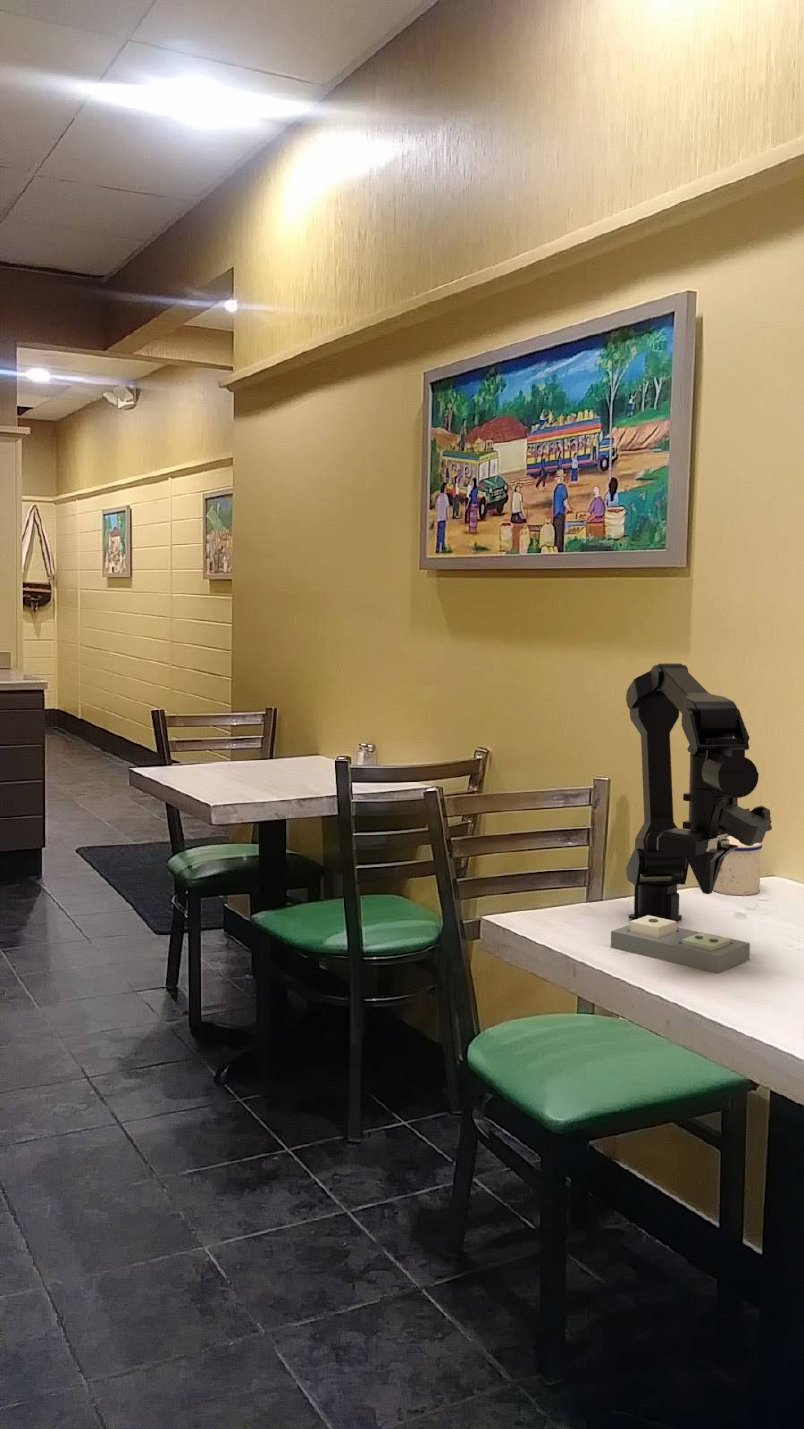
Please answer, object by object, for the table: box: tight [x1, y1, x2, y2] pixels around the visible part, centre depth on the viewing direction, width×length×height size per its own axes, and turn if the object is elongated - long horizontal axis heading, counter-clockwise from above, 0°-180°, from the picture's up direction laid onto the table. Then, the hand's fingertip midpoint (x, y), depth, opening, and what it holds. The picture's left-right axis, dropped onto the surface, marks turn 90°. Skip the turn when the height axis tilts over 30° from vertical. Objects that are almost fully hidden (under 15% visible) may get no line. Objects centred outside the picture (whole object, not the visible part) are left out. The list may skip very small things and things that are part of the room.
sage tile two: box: [682, 932, 732, 951], centre depth 169 cm, size 5×5×2 cm
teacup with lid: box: [713, 836, 763, 896], centre depth 212 cm, size 12×9×12 cm
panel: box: [610, 924, 751, 974], centre depth 172 cm, size 18×9×2 cm, turn 45°
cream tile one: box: [629, 915, 678, 939], centre depth 175 cm, size 5×5×2 cm
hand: (707, 893), depth 169 cm, fingers closed
